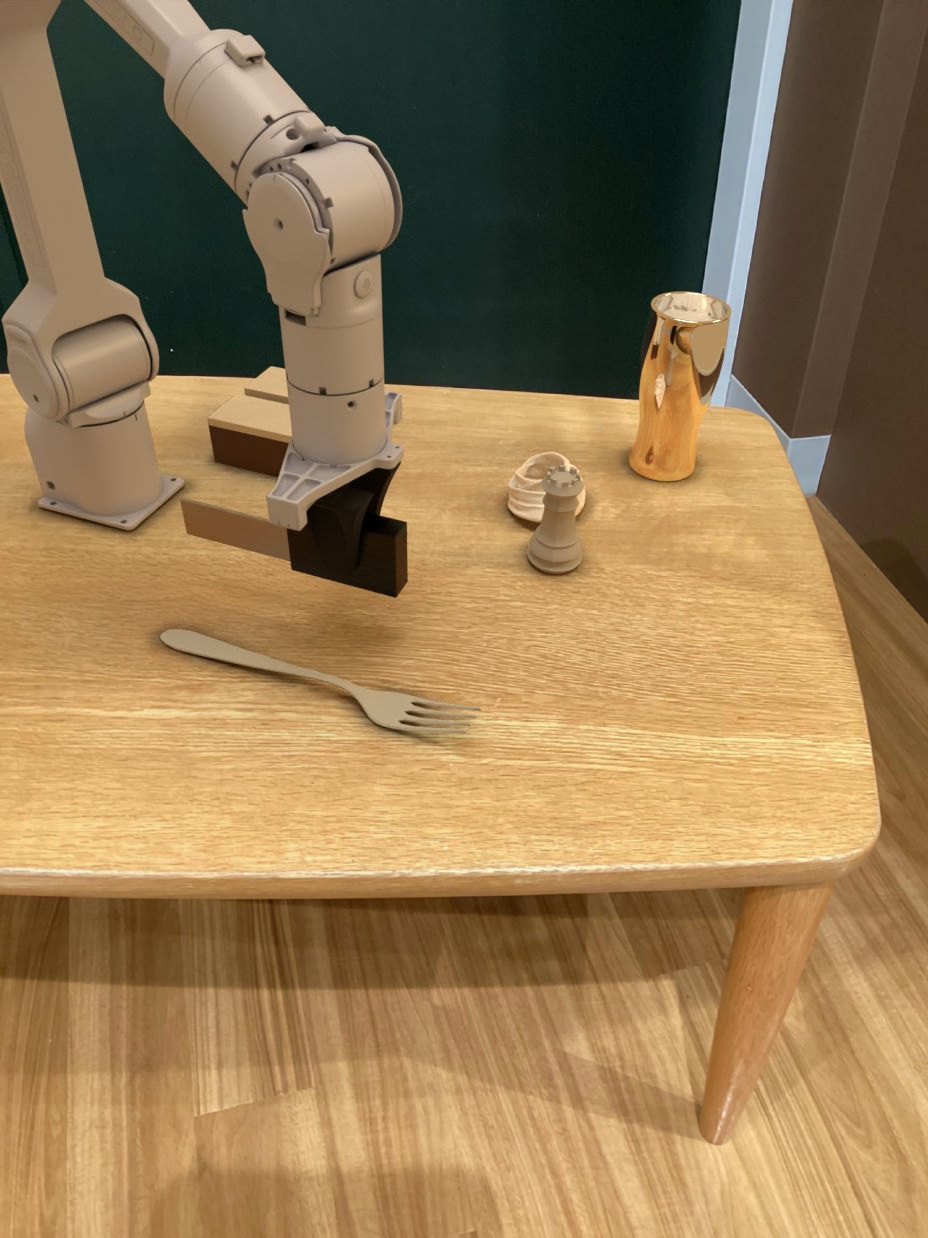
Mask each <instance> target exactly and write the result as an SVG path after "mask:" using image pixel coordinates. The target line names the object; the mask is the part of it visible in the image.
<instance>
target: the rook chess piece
mask: <svg viewBox="0 0 928 1238" xmlns="http://www.w3.org/2000/svg"><path fill="white" fill-rule="evenodd" d="M565 467H566V465H559V470H556V467H554V466H552V467H551V468H549V472H548V471H547V475H546V476H545V477H544V478H543V479H542V481H541V487H542V488H543V489H544V491H545V492H546V495H545V496H544V497H543V499H542V501H543V504H544V512H543V516H542V520H541V522H539V523H540V524H539V525H538V526H537V527H536V529H535V531H534V532H533V533H532V535H531V537H530V539H529V541H528V549H527V550H526V554H527V558H528V560H529V562H531V564H532V565H533V566H534V567H535V568H536V569H538V570H539V571H541V572H544V573H547V574H552V575H555V574H556V575H561V574H566V573H569V572H571V571H573V570H574V569H576V568H577V567H578V566H579V565H580V564H581V562H582V561H583V551H584V547H583V542H582V538H581V537H580V535H579V532H578V530H577V528H576V527H577V526H576V517H575V511H576V508H577V507H578V505H579V500H578V499H577V495H579V494H580V493H581V492H582V490H583V489H584V485H585V482H584V483H583V482H582V480H581V479H580V476H582V474H581V472H580V471H579V472H577V469H578V468H577V467H576V468H577V469H576V468H574V467H571V468H570V471H566V470H565ZM555 470H556V471H555ZM580 474H581V475H580Z"/></svg>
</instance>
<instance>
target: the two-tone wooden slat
mask: <svg viewBox="0 0 928 1238" xmlns="http://www.w3.org/2000/svg"><path fill="white" fill-rule="evenodd" d="M179 500H180V501H179V502H180V507H181V511H182V512H181V513H182V516H183V522H184V527H185V531H186V535H190V536H193V537H196V538H200V539H204V540H208V541H211V542H215V543H218V544H222V545H227V546H230V547H235V548H238V549H241V550H245V551H249V552H253V553H257V554H261V555H264V556H269V557H270V558H271V557H272V558H275V559H279V560H283V561H287V562H290V570H291V571H294V572H297V573H301V574H305V575H308V576H312V577H316V578H320V579H324V580H327V581H330V582H335V583H339V584H343V585H346V586H348V587H354V588H357V589H361V590H365V591H368V592H371V593H376V594H380V595H382V596H387V597H391V598H395V599H397V597H398V596H399V595H400V594H401V592H402V591H403V589H405V587H406V586H407V583H408V582H409V568H408V565H409V564H408V562H409V561H408V560H409V559H408V522H407V521H404V520H400V519H396V518H394V517H388V516H384V515H381V514H380V515H376V514H372V513H368V512H365V514H364V518H363V521H362V526H361V531H360V541H359V556H358V562H357V566H356V569H355V572H354V573H353V574H352V575H351V576H346V575H343V574H339V573H335V572H331V571H328V570H325V569H324V567H323V564H322V562H321V560H320V557H319V555H318V552H317V550H316V547H315V545H314V543H313V541H312V539H311V537H310V534H309V533H308V531H307V529H306V527H305V526H304V527H303V528H302V529H301V530H300V531H297V530H293V529H288V528H284V527H280V526H278V525H274V524H270V521H269V518H264V517H260V516H257V515H254V514H249V513H245V512H241V511H238V510H237V511H236V510H233V509H230V508H225V507H221V506H217V505H213V504H209V503H206V502H201V501H199V500H194V499H190V498H186V497H181V498H180V499H179Z"/></svg>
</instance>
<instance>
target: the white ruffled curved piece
mask: <svg viewBox="0 0 928 1238" xmlns="http://www.w3.org/2000/svg"><path fill="white" fill-rule="evenodd" d="M559 465H566V467H565V470H566V471H570V468H571V467H574V468H576V469H577V472H580V470H579V469H578V468H577V466H576V465H574V464H573V463H571V462H570V461H569V459H568V458H567V457H565V456H564V455H562V454H561V453H559V452H556V451H546V452H541V453H537V454H534V455H532V456H531V457H528V458H527V459H526V461H525V462H523V463H522V465H520V467H518V468H517V469H516V470H515V471H514V474H513V475H512V477H511V478H510V480H509V481H508V483H507V487H508V488H509V491H508V501H507V507H508V510H509V511H510V512H511V513H512V514H513V515H514V516H516V517H518V518H520V519H523V520H527V521H530V522H533V523H541V520H542V516H543V512H544V504H543V501H542V499H543V497H544V496H545V495H546V492H545V491H544V489H543V488H542V487H541V481H542V479H543V478H544V477H545V476H546V475H547V471H548V472H549V468H551V467H552V466H554V467H556V470H559ZM556 470H555V471H556ZM580 475H581V476H580V479H581V480H582V482H583V483H584V489H583V490H582V492H581V493H580V494H579V495H577V499H578V500H579V505H578V507H577V508H576V511H575V518H576V517H577V516H578V515H579V514H580V513H581V512H582V510H583V508H584V506H585V504H586V497H587V496H586V495H587V491H586V486H585V482H584V479H583V477H582V474H581V473H580Z"/></svg>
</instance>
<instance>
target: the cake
mask: <svg viewBox="0 0 928 1238" xmlns="http://www.w3.org/2000/svg"><path fill="white" fill-rule="evenodd" d="M206 419H207V424H208V431H209V437H210V443H211V448H212V449H211V450H212V454H213V461H214V462H216V463H220V464H224V465H227V466H232V467H236V468H240V469H244V470H249V471H253V472H257V473H260V474H261V473H262V474H266V475H269V476H274V477H277V478H278V477H279V474H280V471H281V467H282V464H283V461H284V458H285V455H286V451H287V448H288V445H289V442H290V439H291V437H292V429H291V420H290V410H289V405H288V404H284V403H279V402H274V401H269V400H265V399H260V398H255V397H251V396H246V395H245V394H241V393H236V394H235V395H233V396H232V397H231V398H229V399H228V400H226V402H224V403H223V404H222V405H221V406H220V407H218V408H217V409H216V410H214V411H213V412H212V413H211V414H210V415H208V416H207V418H206Z"/></svg>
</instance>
